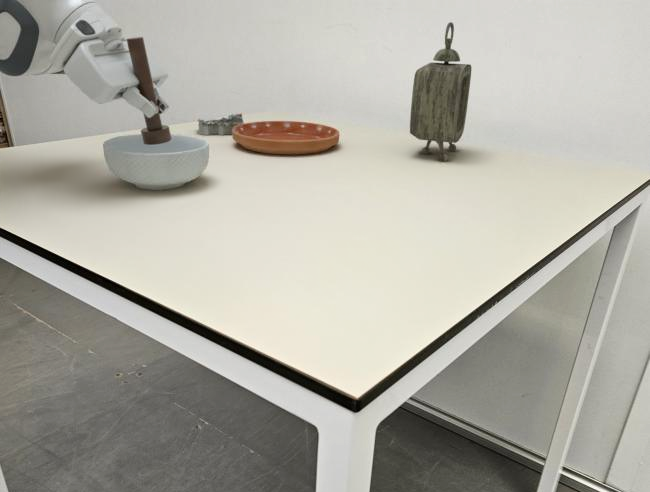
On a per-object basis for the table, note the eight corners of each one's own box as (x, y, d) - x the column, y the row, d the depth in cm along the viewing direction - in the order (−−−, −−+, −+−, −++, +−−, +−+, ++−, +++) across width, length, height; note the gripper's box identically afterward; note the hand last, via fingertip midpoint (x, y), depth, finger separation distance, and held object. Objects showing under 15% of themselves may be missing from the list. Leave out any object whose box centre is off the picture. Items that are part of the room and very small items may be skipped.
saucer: (326, 135, 143) (326, 119, 141) (350, 157, 123) (351, 138, 121) (229, 137, 138) (228, 120, 136) (237, 160, 118) (236, 140, 117)
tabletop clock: (450, 165, 119) (467, 23, 107) (405, 160, 121) (417, 22, 110) (461, 151, 131) (477, 22, 119) (420, 147, 133) (432, 21, 122)
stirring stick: (146, 146, 94) (121, 40, 86) (141, 141, 97) (117, 39, 90) (174, 141, 95) (152, 36, 88) (168, 136, 99) (146, 35, 91)
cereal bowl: (205, 199, 94) (202, 153, 91) (97, 199, 93) (89, 152, 90) (215, 172, 109) (213, 132, 106) (122, 172, 108) (116, 131, 105)
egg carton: (244, 131, 146) (244, 113, 144) (243, 137, 139) (243, 118, 137) (199, 130, 145) (198, 112, 143) (196, 136, 138) (195, 117, 136)
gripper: (115, 52, 101) (175, 116, 104) (41, 61, 83) (116, 138, 86) (136, 23, 98) (197, 90, 101) (65, 26, 81) (141, 107, 84)
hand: (160, 112), depth 94 cm, fingers closed on stirring stick, 2 cm apart
